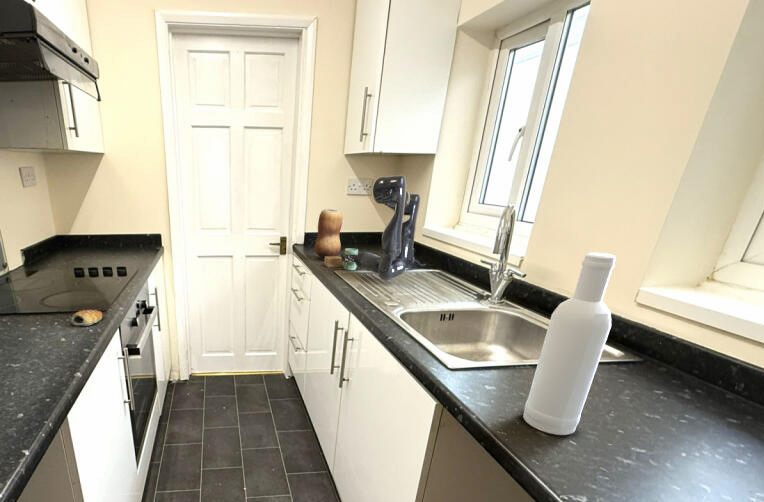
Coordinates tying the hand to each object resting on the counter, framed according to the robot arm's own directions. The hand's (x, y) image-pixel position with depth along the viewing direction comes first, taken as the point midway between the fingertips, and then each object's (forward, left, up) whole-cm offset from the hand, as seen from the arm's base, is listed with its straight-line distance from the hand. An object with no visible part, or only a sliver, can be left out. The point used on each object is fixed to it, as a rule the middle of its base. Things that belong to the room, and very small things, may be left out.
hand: (348, 255), depth 193 cm
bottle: (+12, +131, -6) cm, 132 cm away
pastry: (+105, +62, -6) cm, 122 cm away
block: (+5, -6, -6) cm, 10 cm away
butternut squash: (+3, -22, -6) cm, 23 cm away
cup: (0, +2, -6) cm, 6 cm away
